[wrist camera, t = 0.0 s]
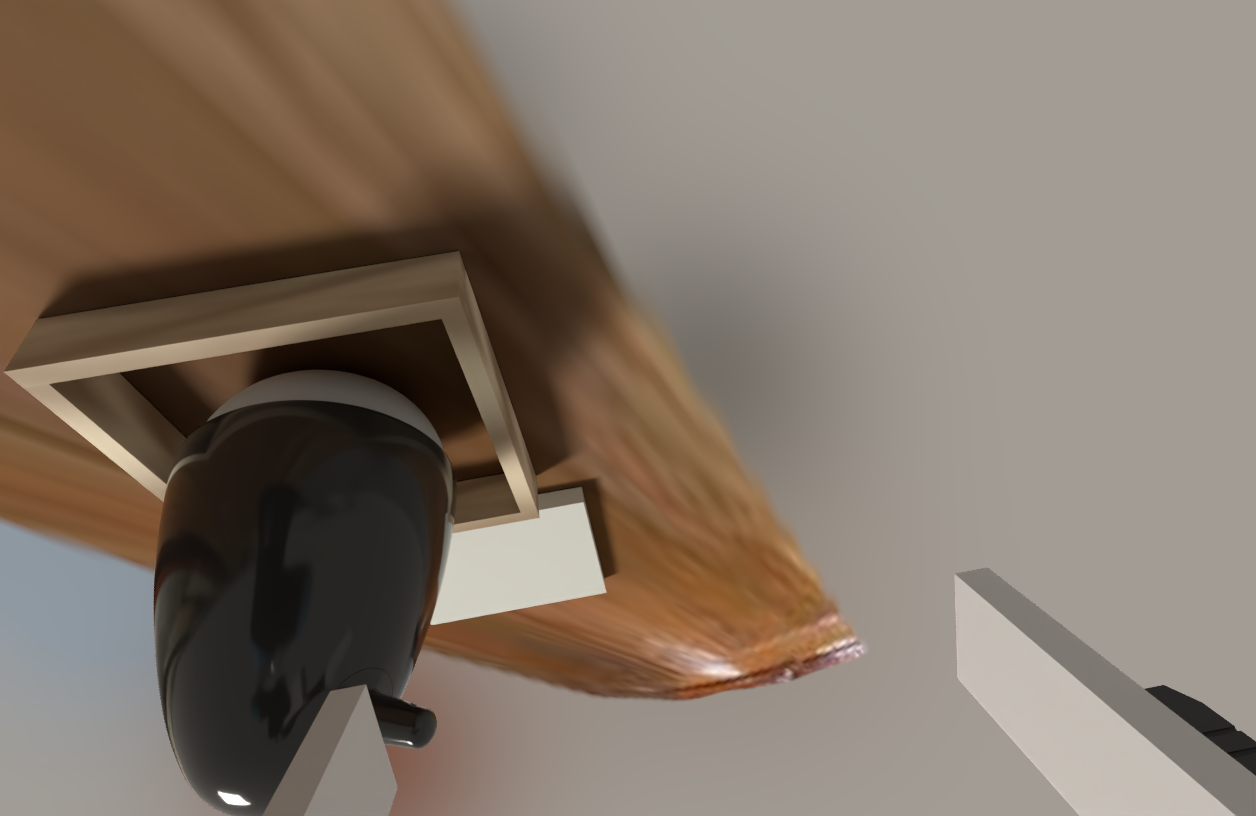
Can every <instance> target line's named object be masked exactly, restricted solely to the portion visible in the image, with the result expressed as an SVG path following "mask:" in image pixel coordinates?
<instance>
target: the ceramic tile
mask: <svg viewBox="0 0 1256 816" xmlns="http://www.w3.org/2000/svg"><path fill="white" fill-rule="evenodd" d="M538 504H539V516H540V518H536V519H530V520H525V521H519V522H513V523H508V524H502V525H497V526H491V527H486V528H480V529H475V530H469V531H463V532H458V533H452V538H451V544H450V550H449V555H448V560H447V565H446V569H445V574H444V578H443V582H442V586H441V590H440V593H439V597H438V600H437V604H436V607H435V610H434V613H433V617H432V620H431V623H430V624H431V625H435V624H440V623H446V622H451V621H457V620H462V619H467V618H473V617H478V616H483V615H489V614H494V613H500V612H505V611H510V610H516V609H521V608H527V607H532V606H537V605H543V604H548V603H553V602H559V601H564V600H570V599H575V598H580V597H586V596H591V595H597V594H602V593H606V586H605V579H604V575H603V571H602V567H601V563H600V559H599V555H598V551H597V547H596V543H595V539H594V535H593V531H592V527H591V523H590V519H589V515H588V510H587V506H586V502H585V498H584V494H583V490H582V487H577V488H572V489H566V490H560V491H555V492H549V493H544V494H538Z"/></svg>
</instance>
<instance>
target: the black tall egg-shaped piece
mask: <svg viewBox="0 0 1256 816" xmlns="http://www.w3.org/2000/svg"><path fill="white" fill-rule="evenodd" d="M456 502H457V480H456V474H455V470H454V467H453V465H452V463H451V461H450V459H449V458H448V456H447V455H446V453H445V452H444V449H443V446H442V444H441V441H440V439H439V437H438V435H437V433H436V431H435V429H434V428H433V426H432V424H431V423H430V421H429V420H428V419H427V417H426V416H425V415H424V414H423V413H422V411H421V410H420V409H419V408H418V407H417V406H416V405H415V404H414V403H412V402H411V401H410V400H409V399H408V398H406V397H405V396H404V395H402V394H401V393H399V392H398V391H396V390H394V389H393V388H391V387H389V386H387V385H385V384H383V383H381V382H378V381H376V380H373V379H370V378H367V377H364V376H361V375H357V374H353V373H348V372H342V371H334V370H303V371H295V372H289V373H284V374H280V375H276V376H273V377H270V378H267V379H264V380H262V381H259V382H257V383H255V384H253V385H251V386H249V387H247V388H245V389H243V390H242V391H240V392H238V393H237V394H235V395H234V396H233V397H231V398H230V399H229V400H227V401H226V402H225V403H224V404H223V405H221V406H220V407H219V408H218V409H217V410H216V411H215V412H214V413H213V414H212V416H211V417H210V418H209V419H208V420H207V421H206V423H204V424H203V425H201V426H200V427H198V428H197V429H196V430H195V431H193V432H192V433H191V434H190V435H189V436H188V437H187V438H186V440H185V441H184V442H183V444H182V445H181V447H180V449H179V451H178V453H177V455H176V458H175V460H174V463H173V466H172V469H171V472H170V475H169V479H168V482H167V487H166V491H165V496H164V502H163V508H162V514H161V521H160V528H159V535H158V542H157V551H156V561H155V575H154V640H155V657H156V669H157V679H158V686H159V694H160V700H161V706H162V712H163V717H164V722H165V726H166V730H167V733H168V737H169V740H170V744H171V747H172V749H173V752H174V755H175V757H176V760H177V762H178V765H179V767H180V769H181V772H182V774H183V776H184V778H185V780H186V781H187V783H188V785H189V786H190V788H191V789H192V790H193V792H194V793H195V794H196V795H197V796H198V797H199V798H200V799H201V800H202V801H203V802H205V803H206V804H207V805H209V806H210V807H212V808H213V809H215V810H217V811H219V812H221V813H223V814H226V815H228V816H262V815H263V814H264V812H265V810H266V808H267V806H268V804H269V803H270V801H271V799H272V797H273V795H274V793H275V792H276V790H277V788H278V786H279V784H280V782H281V781H282V779H283V777H284V775H285V773H286V771H287V770H288V768H289V766H290V764H291V762H292V760H293V759H294V757H295V755H296V753H297V751H298V749H299V748H300V746H301V744H302V742H303V740H304V738H305V737H306V735H307V733H308V731H309V729H310V727H311V726H312V724H313V722H314V720H315V718H316V716H317V715H318V713H319V711H320V709H321V707H322V705H323V704H324V702H325V700H326V698H327V696H328V694H329V693H330V691H333V690H339V689H344V688H349V687H355V686H360V685H365V684H366V686H367V689H368V692H369V696H370V699H371V702H372V705H373V709H374V712H375V715H376V719H377V722H378V725H379V728H380V732H381V735H382V738H383V742H384V744H386V745H394V746H401V747H408V748H415V749H420V748H423V747H425V746H426V745H428V744H429V743H430V742H431V740H432V739H433V737H434V735H435V732H436V728H437V720H436V716H435V714H434V712H433V711H432V710H430V709H428V708H425V707H419V706H416V705H414V704H413V703H410V702H407V701H404V700H401V697H402V695H403V693H404V690H405V688H406V685H407V683H408V681H409V679H410V676H411V674H412V672H413V669H414V667H415V664H416V661H417V659H418V656H419V654H420V651H421V648H422V646H423V643H424V640H425V637H426V634H427V631H428V629H429V626H430V623H431V620H432V617H433V613H434V610H435V607H436V604H437V600H438V597H439V593H440V590H441V586H442V582H443V578H444V574H445V569H446V565H447V560H448V555H449V550H450V544H451V538H452V533H453V527H454V520H455V513H456Z"/></svg>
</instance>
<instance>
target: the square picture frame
mask: <svg viewBox="0 0 1256 816" xmlns="http://www.w3.org/2000/svg"><path fill="white" fill-rule="evenodd" d="M438 319H442V321H443V324H444V326H445V328H446V331H447V333H448V336H449V338H450V341H451V343H452V346H453V348H454V350H455V353H456V355H457V358H458V360H459V363H460V365H461V368H462V370H463V373H464V375H465V377H466V380H467V382H468V385H469V387H470V390H471V392H472V395H473V397H474V399H475V402H476V404H477V407H478V409H479V412H480V414H481V417H482V419H483V422H484V424H485V426H486V429H487V431H488V434H489V436H490V439H491V441H492V444H493V446H494V448H495V451H496V453H497V456H498V458H499V461H500V463H501V466H502V468H503V471H504V473H505V474H499V475H493V476H488V477H482V478H476V479H471V480H465V481H459V482H457V502H456V513H455V520H454V527H453V533H458V532H463V531H469V530H475V529H480V528H486V527H491V526H497V525H502V524H508V523H513V522H519V521H525V520H530V519H536V518H540V516H539V504H538V492H537V480H536V475H535V472H534V469H533V466H532V463H531V460H530V457H529V454H528V451H527V448H526V445H525V442H524V439H523V437H522V434H521V431H520V428H519V425H518V422H517V419H516V416H515V413H514V410H513V407H512V404H511V401H510V399H509V396H508V393H507V390H506V387H505V384H504V381H503V378H502V375H501V372H500V369H499V366H498V363H497V361H496V358H495V355H494V352H493V349H492V346H491V343H490V340H489V337H488V334H487V331H486V328H485V325H484V322H483V320H482V317H481V314H480V311H479V308H478V305H477V302H476V299H475V296H474V293H473V290H472V287H471V284H470V282H469V279H468V276H467V273H466V270H465V267H464V264H463V261H462V258H461V255H460V252H459V251H456V252H450V253H444V254H438V255H431V256H425V257H419V258H413V259H407V260H400V261H394V262H388V263H382V264H376V265H370V266H363V267H357V268H351V269H345V270H339V271H332V272H326V273H320V274H314V275H308V276H302V277H295V278H289V279H283V280H277V281H271V282H264V283H258V284H252V285H246V286H240V287H234V288H227V289H221V290H215V291H209V292H203V293H196V294H190V295H184V296H178V297H172V298H166V299H159V300H153V301H147V302H141V303H135V304H128V305H122V306H116V307H110V308H104V309H98V310H91V311H85V312H79V313H73V314H67V315H61V316H54V317H48V318H42V319H37V320H36V321H35V323H34V324H33V326H32V328H31V329H30V331H29V332H28V334H27V336H26V337H25V339H24V340H23V342H22V344H21V345H20V347H19V348H18V350H17V352H16V353H15V355H14V356H13V358H12V359H11V361H10V363H9V364H8V366H7V367H6V369H5V371H4V372H5V373H6V374H7V375H8V376H9V377H11V378H12V379H13V380H14V381H16V382H17V383H18V384H19V385H20V386H22V387H23V388H24V389H25V390H27V391H28V392H29V393H30V394H32V395H33V396H34V397H35V398H36V399H38V400H39V401H40V402H41V403H43V404H44V405H45V406H46V407H47V408H49V409H50V410H51V411H52V412H54V413H55V414H56V415H57V416H59V417H60V418H61V419H62V420H63V421H65V422H66V423H67V424H68V425H70V426H71V427H72V428H73V429H75V430H76V431H77V432H78V433H79V434H81V435H82V436H83V437H84V438H86V439H87V440H88V441H89V442H90V443H92V444H93V445H94V446H95V447H97V448H98V449H99V450H100V451H102V452H103V453H104V454H105V455H106V456H108V457H109V458H110V459H111V460H113V461H114V462H115V463H116V464H117V465H119V466H120V467H121V468H122V469H124V470H125V471H126V472H127V473H129V474H130V475H131V476H132V477H133V478H135V479H136V480H137V481H138V482H140V483H141V484H142V485H143V486H144V487H146V488H147V489H148V490H149V491H151V492H152V493H153V494H154V495H156V496H157V497H158V498H159V499H160V500H162V501H163V502H164V496H165V491H166V487H167V482H168V479H169V475H170V472H171V469H172V466H173V463H174V460H175V458H176V455H177V453H178V451H179V449H180V447H181V445H182V444H183V442H184V441H185V440H186V438H185V437H184V436H183V435H182V434H181V433H180V432H179V431H178V430H177V429H176V428H175V427H174V426H173V425H172V424H171V423H170V422H169V421H168V420H167V419H166V418H165V417H164V416H163V415H162V414H161V413H160V412H159V411H158V410H157V409H156V408H155V407H154V406H153V405H152V404H151V403H150V402H149V401H147V400H146V399H145V398H144V397H143V396H142V395H141V394H140V393H139V392H138V391H137V390H136V389H135V388H134V387H133V386H132V385H131V384H130V383H129V382H128V381H127V380H126V379H125V378H124V377H123V376H122V375H121V374H120V373H119V372H124V371H130V370H136V369H142V368H148V367H155V366H161V365H167V364H173V363H179V362H185V361H191V360H197V359H203V358H209V357H215V356H221V355H227V354H233V353H239V352H245V351H251V350H257V349H263V348H269V347H275V346H281V345H287V344H293V343H299V342H305V341H311V340H317V339H323V338H329V337H335V336H341V335H347V334H353V333H359V332H365V331H371V330H377V329H383V328H389V327H395V326H401V325H408V324H414V323H420V322H426V321H432V320H438Z"/></svg>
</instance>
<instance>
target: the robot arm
mask: <svg viewBox="0 0 1256 816" xmlns="http://www.w3.org/2000/svg"><path fill="white" fill-rule="evenodd" d="M955 606H956V636H957V637H956V638H957V639H956V640H957V673H958V679H959V681H960V682H961V683H962V684H963V685H964V686H965V687H966V688H967V690H968V691H969V692H970V693H971V694H972V695H973V696H974V697H975V698H976V700H977V701H978V702H979V703H980V704H981V705H982V706H983V707H984V709H985V710H986V711H987V712H988V713H989V714H990V715H991V717H992V718H993V719H994V720H995V721H996V722H997V723H998V724H999V726H1000V727H1001V728H1002V729H1003V730H1004V731H1005V732H1006V733H1007V735H1009V737H1010V738H1011V739H1012V740H1013V741H1014V742H1015V744H1016V745H1017V746H1018V747H1019V748H1020V749H1021V750H1022V751H1023V752H1024V754H1025V755H1026V756H1027V757H1028V758H1029V759H1030V760H1031V762H1032V763H1033V764H1034V765H1035V766H1036V767H1037V768H1038V769H1039V771H1040V772H1041V773H1042V774H1043V775H1044V776H1045V777H1046V778H1047V780H1048V781H1049V782H1050V783H1051V784H1052V785H1053V786H1054V787H1055V788H1056V790H1057V791H1058V792H1059V793H1060V794H1061V795H1062V796H1063V798H1064V799H1065V800H1066V801H1067V802H1068V803H1069V804H1070V805H1071V806H1072V808H1073V809H1074V810H1075V811H1076V812H1077V813H1078V814H1079V816H1256V742H1255V741H1254V740H1253V739H1251V738H1250V737H1249V736H1247V735H1246V734H1245V733H1243V732H1241V731H1237V730H1236V729H1235V726H1234V725H1232V724H1231V723H1229V722H1228V721H1227V720H1225V719H1224V718H1223V717H1221V716H1220V715H1218V714H1217V713H1216V712H1214V711H1213V710H1211V709H1210V708H1209V707H1207V706H1206V705H1205V704H1203V703H1202V702H1199V701H1197V700H1195V699H1193V698H1191V697H1189V696H1186V695H1184V694H1182V693H1180V692H1178V691H1175V690H1173V689H1171V688H1169V687H1167V686H1165V685H1162V686H1157V687H1152V688H1147V689H1143V688H1142V687H1141V686H1139V685H1138V684H1137V683H1136V682H1134V681H1133V680H1132V679H1130V678H1129V677H1128V676H1127V675H1125V674H1124V673H1123V672H1121V671H1120V670H1119V669H1118V668H1116V667H1115V666H1114V665H1112V664H1111V663H1110V662H1109V661H1107V660H1106V659H1105V658H1103V657H1102V656H1101V655H1100V654H1098V653H1097V652H1096V651H1094V650H1093V649H1092V648H1090V647H1089V646H1088V645H1087V644H1085V643H1084V642H1083V641H1081V640H1080V639H1079V638H1078V637H1076V636H1075V635H1074V634H1072V633H1071V632H1070V631H1069V630H1067V629H1066V628H1065V627H1063V626H1062V625H1061V624H1060V623H1058V622H1057V621H1056V620H1054V619H1053V618H1052V617H1050V616H1049V615H1048V614H1047V613H1045V612H1044V611H1043V610H1042V609H1040V608H1039V607H1038V606H1036V605H1035V604H1034V603H1032V602H1031V601H1030V600H1029V599H1027V598H1026V597H1025V596H1023V595H1022V594H1021V593H1020V592H1018V591H1017V590H1016V589H1015V588H1013V587H1012V586H1011V585H1009V584H1008V583H1007V582H1006V581H1004V580H1003V579H1002V578H1000V577H999V576H998V575H996V574H995V573H994V572H993V571H991V570H990V569H989V568H982V569H978V570H972V571H966V572H961V573H956V574H955ZM397 788H398V787H397V784H396V781H395V778H394V774H393V771H392V768H391V765H390V761H389V758H388V755H387V751H386V748H385V745H384V742H383V738H382V735H381V732H380V728H379V725H378V722H377V719H376V715H375V712H374V709H373V705H372V702H371V699H370V696H369V692H368V689H367V686H366V684H365V685H360V686H355V687H349V688H344V689H339V690H333V691H330V693H329V694H328V696H327V698H326V700H325V702H324V704H323V705H322V707H321V709H320V711H319V713H318V715H317V716H316V718H315V720H314V722H313V724H312V726H311V727H310V729H309V731H308V733H307V735H306V737H305V738H304V740H303V742H302V744H301V746H300V748H299V749H298V751H297V753H296V755H295V757H294V759H293V760H292V762H291V764H290V766H289V768H288V770H287V771H286V773H285V775H284V777H283V779H282V781H281V782H280V784H279V786H278V788H277V790H276V792H275V793H274V795H273V797H272V799H271V801H270V803H269V804H268V806H267V808H266V810H265V812H264V814H263V815H262V816H388V815H389V812H390V809H391V806H392V803H393V800H394V797H395V794H396V791H397Z"/></svg>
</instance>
